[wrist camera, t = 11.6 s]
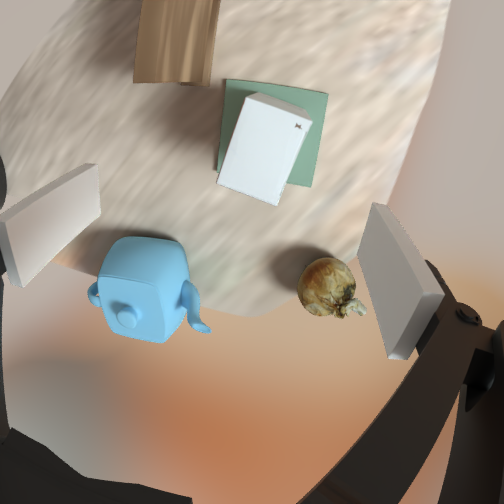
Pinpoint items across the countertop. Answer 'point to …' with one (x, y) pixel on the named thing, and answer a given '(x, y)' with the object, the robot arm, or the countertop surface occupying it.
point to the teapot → (146, 289)
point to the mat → (298, 97)
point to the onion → (328, 289)
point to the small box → (263, 147)
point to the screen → (176, 41)
